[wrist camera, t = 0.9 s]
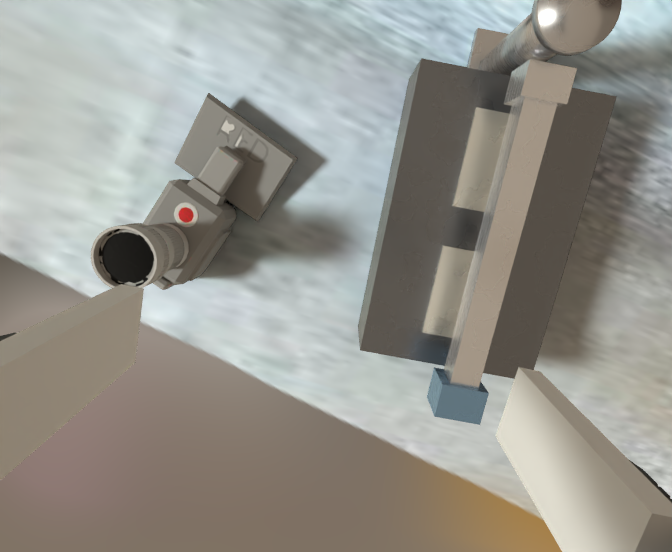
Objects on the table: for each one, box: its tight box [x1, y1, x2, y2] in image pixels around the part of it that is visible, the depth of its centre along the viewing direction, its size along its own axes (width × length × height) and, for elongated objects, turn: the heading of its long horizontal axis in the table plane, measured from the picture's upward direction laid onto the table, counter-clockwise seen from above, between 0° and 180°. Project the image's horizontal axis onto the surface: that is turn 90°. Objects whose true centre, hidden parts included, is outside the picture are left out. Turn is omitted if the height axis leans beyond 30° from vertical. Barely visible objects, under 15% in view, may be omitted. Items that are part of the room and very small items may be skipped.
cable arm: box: [427, 59, 577, 425], centre depth 29 cm, size 23×3×3 cm, turn 169°
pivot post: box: [467, 0, 622, 76], centre depth 29 cm, size 5×5×13 cm
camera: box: [91, 93, 298, 290], centre depth 33 cm, size 9×12×15 cm
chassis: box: [358, 59, 616, 379], centre depth 35 cm, size 22×14×6 cm, turn 169°
